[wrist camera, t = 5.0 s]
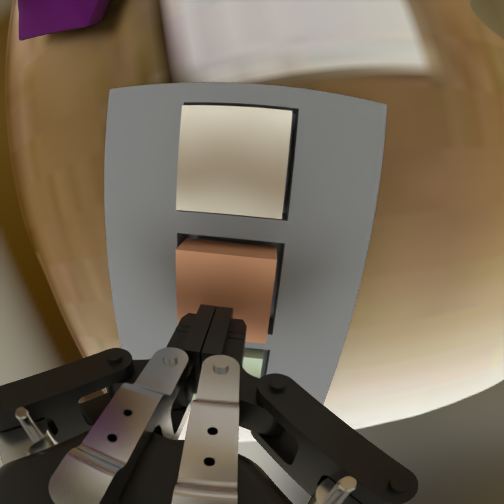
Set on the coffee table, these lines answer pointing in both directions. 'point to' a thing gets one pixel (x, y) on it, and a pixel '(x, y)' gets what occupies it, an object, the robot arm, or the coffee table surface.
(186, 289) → the terracotta tile
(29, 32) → the perfume bottle
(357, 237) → the tile board
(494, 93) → the coffee table surface
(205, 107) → the cream tile
